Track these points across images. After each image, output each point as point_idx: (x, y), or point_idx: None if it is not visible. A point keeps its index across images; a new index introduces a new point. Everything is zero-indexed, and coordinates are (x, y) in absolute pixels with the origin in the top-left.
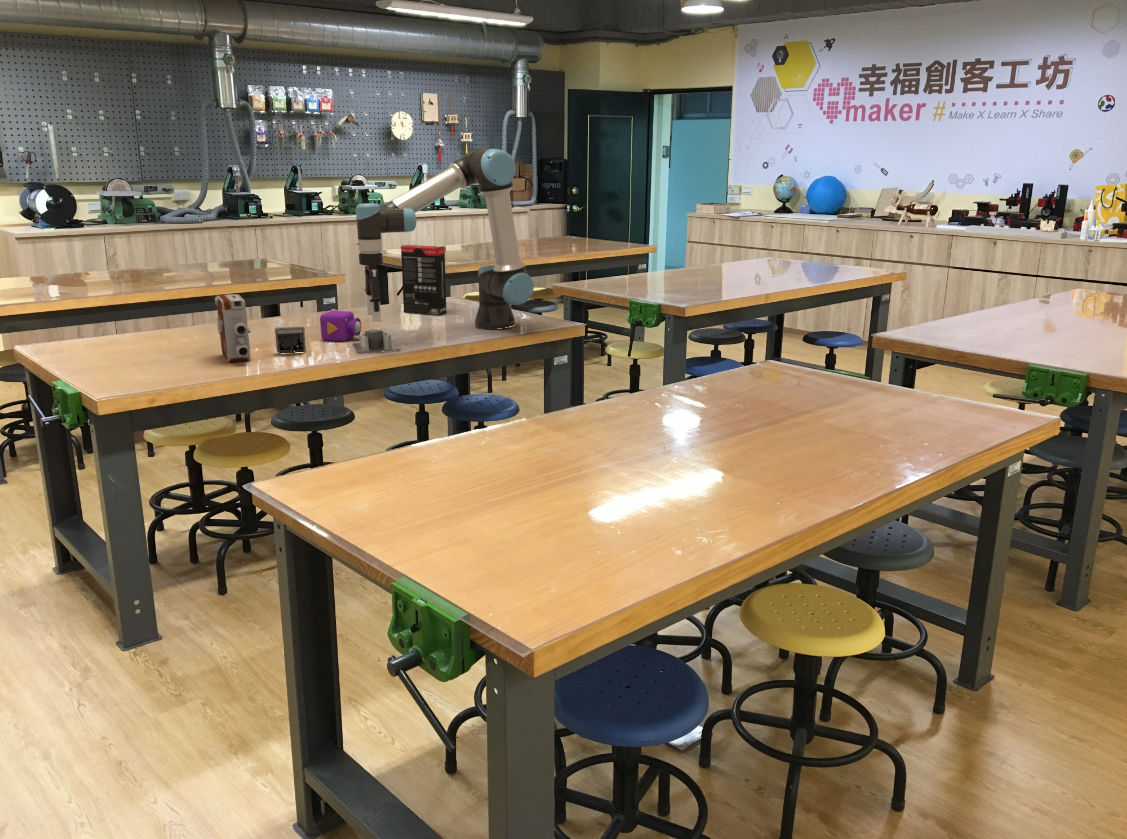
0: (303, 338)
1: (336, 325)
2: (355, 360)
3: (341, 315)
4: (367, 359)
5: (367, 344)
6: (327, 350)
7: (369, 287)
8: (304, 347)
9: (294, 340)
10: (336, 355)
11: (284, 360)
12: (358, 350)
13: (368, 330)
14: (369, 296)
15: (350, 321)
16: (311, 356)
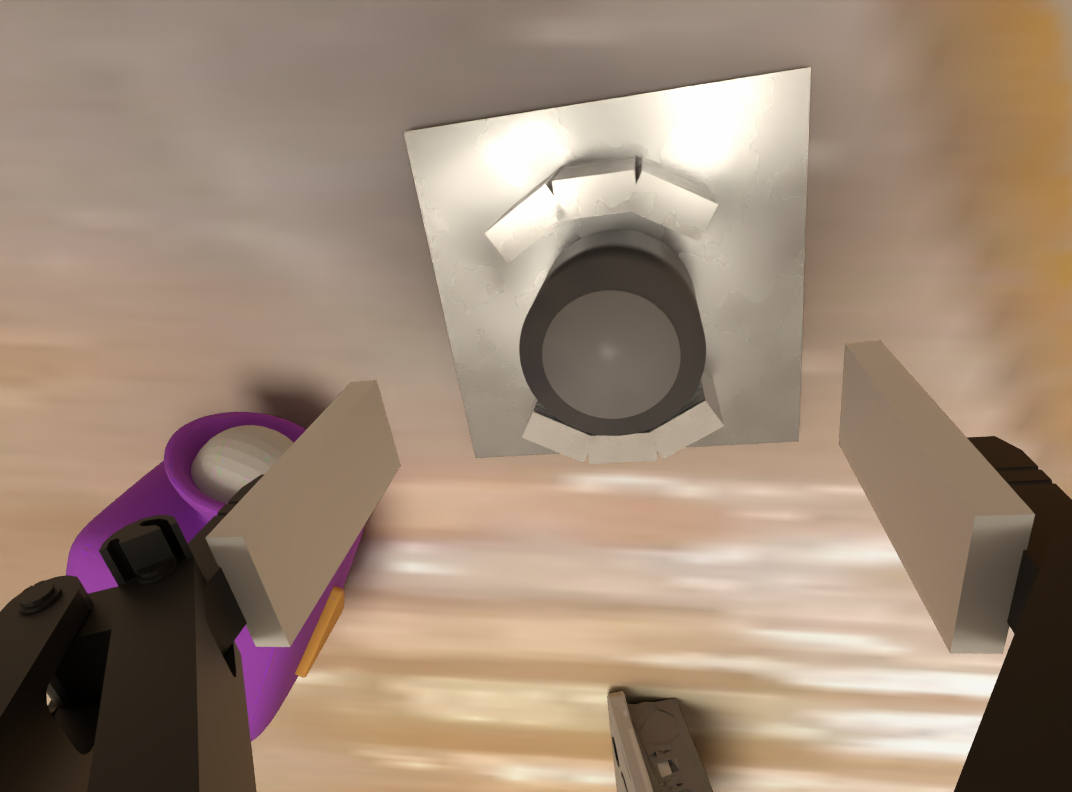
0: (646, 774)
1: (320, 612)
2: (1040, 455)
3: None
4: (1052, 371)
5: (704, 377)
6: (621, 592)
7: (236, 767)
8: (629, 714)
9: None
10: (799, 556)
11: (832, 779)
12: (748, 430)
13: (584, 406)
14: (280, 606)
15: None
16: (775, 673)
